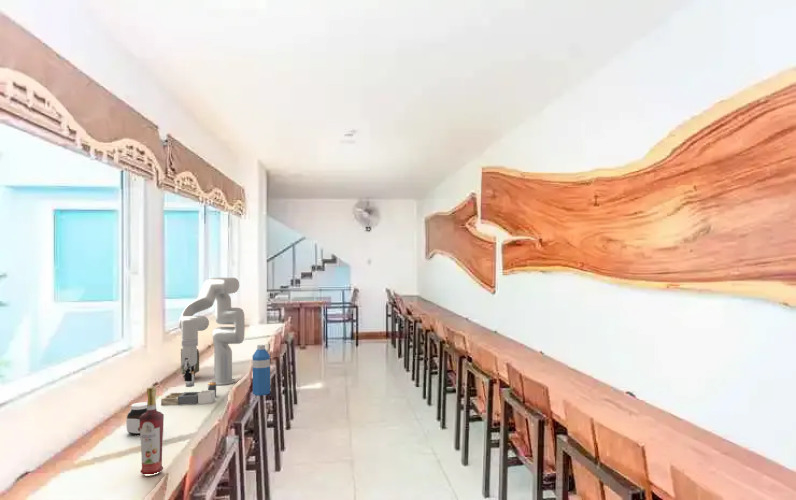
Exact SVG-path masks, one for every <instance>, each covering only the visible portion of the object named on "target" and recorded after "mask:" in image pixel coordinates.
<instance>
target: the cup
mask: <svg viewBox="0 0 796 500" xmlns="http://www.w3.org/2000/svg"><path fill="white" fill-rule="evenodd" d="M198 392H199V393H198V403H197V405H202V404H203V405H211V404H213V403H214V402H215V401H216V397H215V390H208V389H207V390H200V391H198Z"/></svg>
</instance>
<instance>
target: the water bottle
mask: <svg viewBox="0 0 796 500" xmlns="http://www.w3.org/2000/svg"><path fill="white" fill-rule="evenodd" d="M253 394H255V395H254V396H267V395H270V394H271V356H270V353H269V352H268V351H267V350H266V345H265V344H257V345H256V349H255V351H254V352H253V354H252V395H253Z"/></svg>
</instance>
